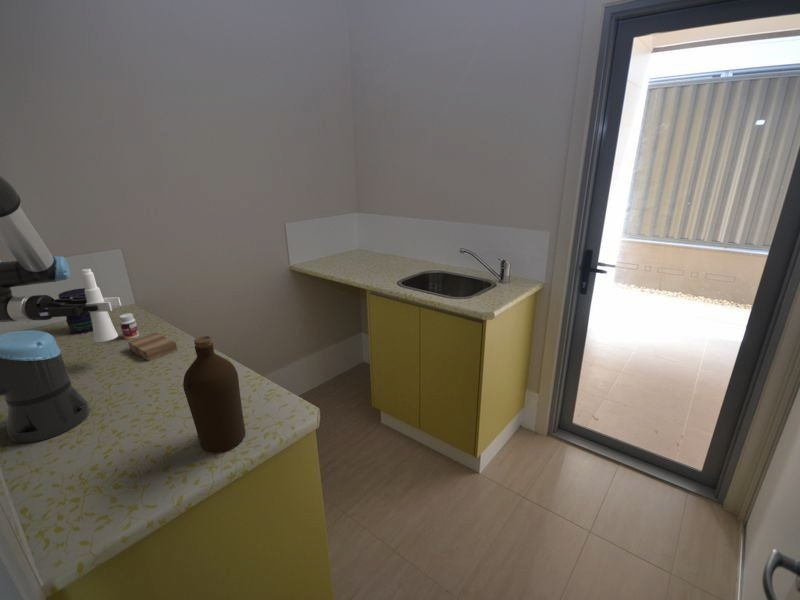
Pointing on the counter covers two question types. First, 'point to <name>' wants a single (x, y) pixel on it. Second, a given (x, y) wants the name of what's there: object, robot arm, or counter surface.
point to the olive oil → (214, 399)
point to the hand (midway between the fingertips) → (114, 304)
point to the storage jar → (78, 322)
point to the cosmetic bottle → (99, 319)
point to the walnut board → (152, 346)
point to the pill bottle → (128, 326)
